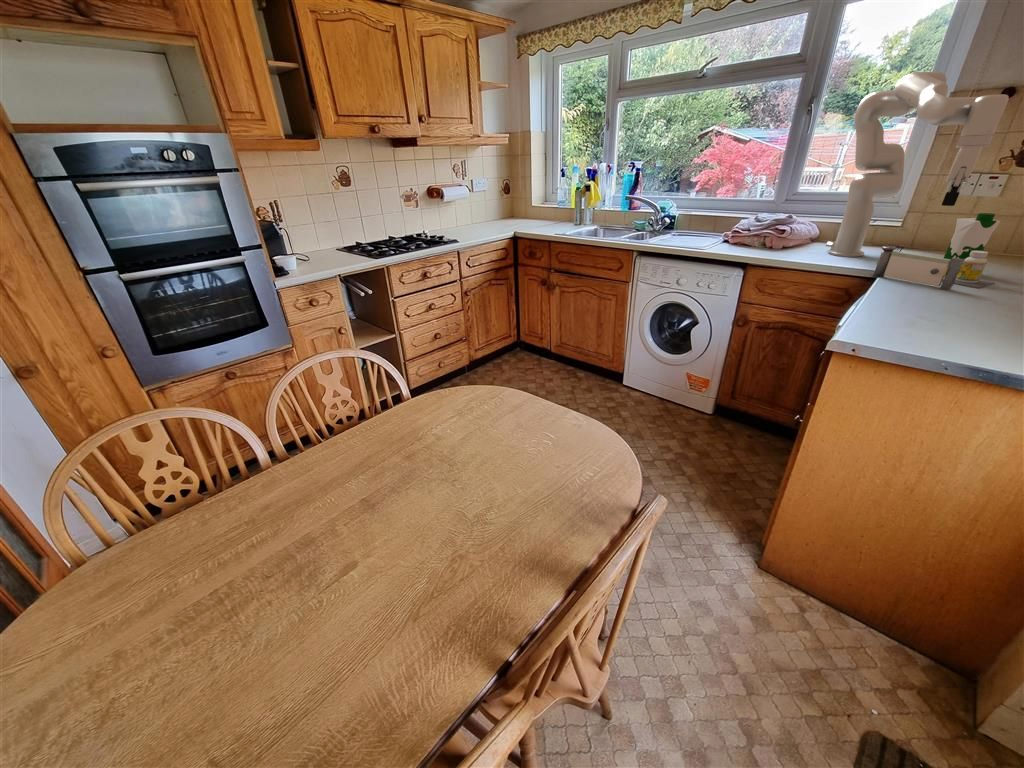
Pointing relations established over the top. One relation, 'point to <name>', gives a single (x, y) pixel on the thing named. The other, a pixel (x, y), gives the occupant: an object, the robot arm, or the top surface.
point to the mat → (975, 285)
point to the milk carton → (971, 236)
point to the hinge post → (883, 261)
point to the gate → (917, 268)
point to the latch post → (951, 273)
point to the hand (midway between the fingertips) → (947, 205)
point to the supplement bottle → (972, 267)
